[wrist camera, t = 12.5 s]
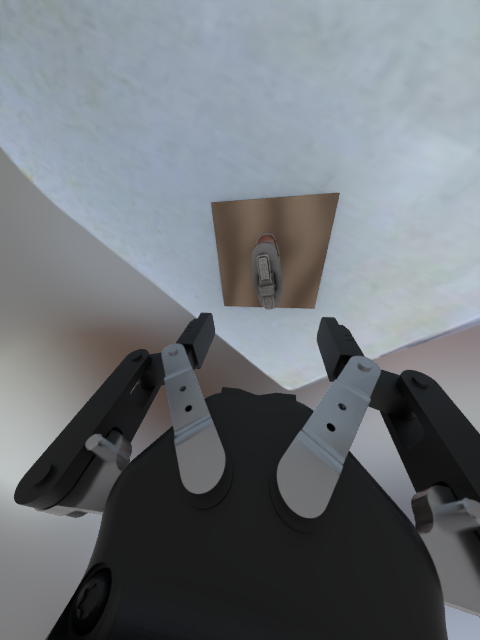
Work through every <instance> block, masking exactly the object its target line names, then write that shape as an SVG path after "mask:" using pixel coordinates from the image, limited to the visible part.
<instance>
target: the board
mask: <svg viewBox="0 0 480 640" xmlns="http://www.w3.org/2000/svg"><path fill="white" fill-rule="evenodd" d="M339 194H340V193H330V194H317V195H304V196H291V197H278V198H265V199H252V200H239V201H226V202H213V203H211V205H212V213H213V221H214V229H215V236H216V244H217V252H218V260H219V268H220V275H221V283H222V291H223V299H224V306H243V307H262V306H261V304H260V302H259V299H258V297H257V294H256V291H255V287H254V283H253V275H252V252H253V249H254V248H255V246H256V245H257V240H258V238H259V236H260V235H262V234H264V233H271V234H273V235H274V237H275V239H276V242H277V246H278V250H279V256H280V265H281V273H282V296H281V302H280V304H279V306H278V307H276V308H310V309H314V308H315V303H316V299H317V294H318V289H319V285H320V280H321V276H322V271H323V267H324V262H325V258H326V253H327V249H328V244H329V239H330V235H331V230H332V226H333V221H334V217H335V212H336V208H337V203H338V199H339Z"/></svg>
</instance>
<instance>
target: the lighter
mask: <svg viewBox="0 0 480 640" xmlns="http://www.w3.org/2000/svg"><path fill="white" fill-rule="evenodd" d="M252 275H253V283H254V287H255V291H256V294H257V297H258V299H259V302H260V304H261V306H262V307H264V308H265V309H273V308H276V307H278V306H279V304H280V302H281V296H282V273H281V265H280V256H279V250H278V246H277V242H276V239H275V237H274V235H273V234H271V233H264V234H262V235H260V236H259V238H258V240H257V245H256V246H255V248H254V249H253V252H252Z"/></svg>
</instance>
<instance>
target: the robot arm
mask: <svg viewBox="0 0 480 640" xmlns="http://www.w3.org/2000/svg"><path fill="white" fill-rule="evenodd" d="M214 335H215V327H214V321H213V316H212V313H201V314H200V316H199V317H198V319H194V320H193V321H191V322H190V323H189V324H188V326H187V328H186V329H185V330H184V332H183V333H182V335H181V336H180V338H179V339H178V341H177V342H176V344H172V345H169V346H167V347H166V348H165V349H164V350H163V351H162V352H161V353H157V354H151V355H150V354H149V352H148V351H147V350H145V349H139V350H136V351H134V352H131V353H130V354H129V355H127V356H126V358H125V359H124V360H123V361H122V362H121V364H120V365H119V366H118V367H117V368H116V369H115V371H114V372H113V373H112V374H111V375H110V376H109V377H108V378H107V380H106V381H105V382H104V383H103V384H102V386H101V387H100V388H99V389H98V390H97V391H96V393H95V394H94V395H93V396H92V397H91V398H90V399H89V401H88V402H87V403H86V404H85V405H84V407H83V408H82V409H81V410H80V411H79V412H78V413H77V415H76V416H75V417H74V418H73V419H72V420H71V422H70V423H69V424H68V425H67V426H66V427H65V429H64V430H63V431H62V432H61V433H60V434H59V436H58V437H57V438H56V439H55V440H54V441H53V443H52V444H51V445H50V446H49V447H48V448H47V450H46V451H45V452H44V453H43V454H42V456H41V457H40V458H39V459H38V460H37V461H36V463H34V465H33V466H32V467H31V468H30V469H29V471H28V472H27V473H26V474H25V475H24V477H23V478H22V479H21V481H20V482H19V484H18V486H17V488H16V490H15V494H14V500H15V502H16V503H17V504H20V505H24V506H28V507H33V508H35V509H36V510H38V511H41V512H46V513H50V514H54V515H59V516H63V515H66V516H70V517H75V518H77V517H81V516H83V515H85V514H87V513H95V514H102V521H101V526H100V530H99V534H98V538H97V541H96V545H95V548H94V551H93V554H92V557H91V559H90V562H89V565H88V568H87V570H86V572H85V574H84V577H83V578H82V580H81V582H80V584H79V586H78V588H77V590H76V591H75V593H74V595H73V596H72V598H71V600H70V601H69V603H68V605H67V606H66V608H65V610H64V611H63V613H62V614H61V616H60V617H59V619H58V621H57V622H56V624H55V625H54V627H53V628H52V630H51V631H50V633H49V635H48V636H47V638H46V639H45V640H448V637H447V631H446V622H445V608H444V605H447V606H450V607H453V608H456V609H459V610H462V611H464V612H467V613H470V614H473V615H476V616H479V617H480V434H479V433H478V431H477V430H476V429H475V428H474V427H473V425H472V424H471V423H470V422H469V421H468V419H467V418H466V417H465V416H464V414H463V413H462V412H461V411H460V410H459V408H458V407H457V406H456V405H455V404H454V403H453V401H452V400H451V399H450V398H449V396H448V395H447V394H446V393H445V392H444V390H442V388H441V387H440V386H439V384H438V383H437V382H436V381H435V380H433V379H432V378H431V377H429V376H427V375H425V374H423V373H420V372H418V371H414V370H405V371H403V372H402V373H401V374H400V375H397V374H394V373H390V372H387V371H384V370H381V369H380V367H379V366H378V364H377V363H375V362H374V361H373V360H371V359H369V358H367V357H365V356H364V355H363V353H362V351H361V349H360V348H359V346H358V344H357V343H356V341H355V339H354V338H353V337H352V334H351V333H350V331H349V330H348V329H347V328H346V327H345V326H343V325H339V324H338V322H337V320H336V319H335V318H334V317H322V319H321V322H320V326H319V330H318V333H317V343H318V346H319V350H320V353H321V356H322V359H323V362H324V365H325V368H326V372H327V375H328V378H329V381H330V382H333V383H332V385H331V386H330V388H329V389H328V391H327V392H326V394H325V395H324V397H323V398H322V400H321V401H320V403H319V404H318V406H317V407H316V409H315V410H314V411H313V410H311V409H310V408H309V407H307V406H306V405H304V404H302V403H300V402H298V401H296V395H292V394H282V393H272V394H265V395H255V394H252V393H249V392H246V391H244V390H241V389H236V388H226V387H223V388H222V391H221V393H217V394H214V395H211V396H209V397H207V398H205V399H204V398H203V395H202V392H201V390H200V387H199V384H198V382H197V379H196V377H195V374H194V369H200V368H201V366H202V363H203V361H204V359H205V357H206V354H207V352H208V350H209V347H210V345H211V343H212V340H213V338H214ZM137 382H138V384H137V385H136V383H137ZM135 385H136V387H135V388H134V390H133V391H132V389H133V387H134V386H135ZM161 385H165V387H166V392H167V397H168V402H169V407H170V413H171V418H172V423H173V426H172V427H171V428H170V429H168V430H167V431H166V432H165V433H164V434H163V435H161V436H160V437H159V438H158V439H157V440H156V441H154V442H153V443H152V444H151V445H150V446H149V447H147V448H146V449H145V450H144V451H143V452H141V453H140V454H139V455H138V456H137V457H136V458H135V459H133V460H132V461H131V462H130V456H131V453H132V445H131V441H132V439H133V437H134V435H135V434H136V432H137V430H138V428H139V426H140V424H141V423H142V421H143V419H144V417H145V415H146V413H147V411H148V409H149V408H150V406H151V404H152V402H153V400H154V398H155V396H156V394H157V393H158V391H159V389H160V387H161ZM131 391H132V393H131ZM130 393H131V394H130ZM368 406H369V407H372V408H374V409H377V410H380V413H381V415H382V417H383V419H384V422H385V424H386V426H387V428H388V431H389V433H390V435H391V437H392V440H393V442H394V444H395V446H396V448H397V451H398V453H399V455H400V457H401V460H402V462H403V464H404V466H405V469H406V471H407V473H408V475H409V478H410V480H411V482H412V484H413V487H414V489H415V491H416V494H415V495H413V497H412V500H411V505H412V511H413V514H414V519H415V527H414V525H413V524H412V522H411V521H410V520H409V519H408V518H407V516H406V515H405V514H404V512H403V511H402V510H401V509H400V508H399V507H398V506H397V504H396V503H395V502H394V501H393V500H392V499H391V498H390V496H388V495H387V493H386V492H385V491H384V490H383V489H382V487H381V486H380V485H379V484H378V483H377V482H376V481H375V479H374V478H373V477H372V476H371V475H370V474H369V473H368V472H367V470H366V469H365V468H364V467H363V466H362V465H361V464H360V462H359V461H358V460H357V459H356V458H355V457H354V456H353V454H352V453H351V452H350V451H349V449H350V447H351V445H352V442H353V440H354V438H355V435H356V433H357V431H358V428H359V426H360V424H361V422H362V419H363V417H364V414H365V412H366V410H367V408H368Z"/></svg>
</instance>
